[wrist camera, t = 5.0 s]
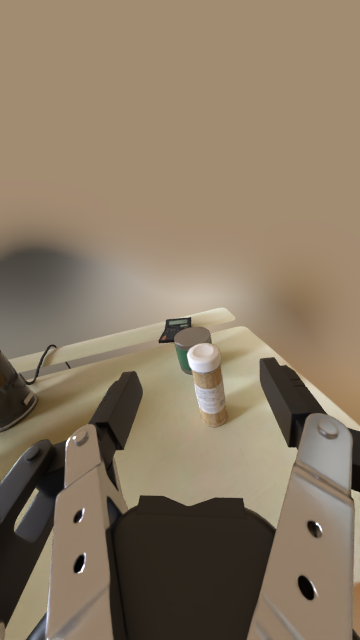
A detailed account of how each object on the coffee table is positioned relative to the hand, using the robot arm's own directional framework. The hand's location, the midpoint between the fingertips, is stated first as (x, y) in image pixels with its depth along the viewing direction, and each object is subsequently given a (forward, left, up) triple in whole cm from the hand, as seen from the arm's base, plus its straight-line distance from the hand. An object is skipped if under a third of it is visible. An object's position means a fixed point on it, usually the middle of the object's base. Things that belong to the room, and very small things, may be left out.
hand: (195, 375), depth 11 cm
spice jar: (-8, +8, -20) cm, 23 cm away
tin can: (-20, +16, -19) cm, 32 cm away
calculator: (-37, +23, -20) cm, 48 cm away
